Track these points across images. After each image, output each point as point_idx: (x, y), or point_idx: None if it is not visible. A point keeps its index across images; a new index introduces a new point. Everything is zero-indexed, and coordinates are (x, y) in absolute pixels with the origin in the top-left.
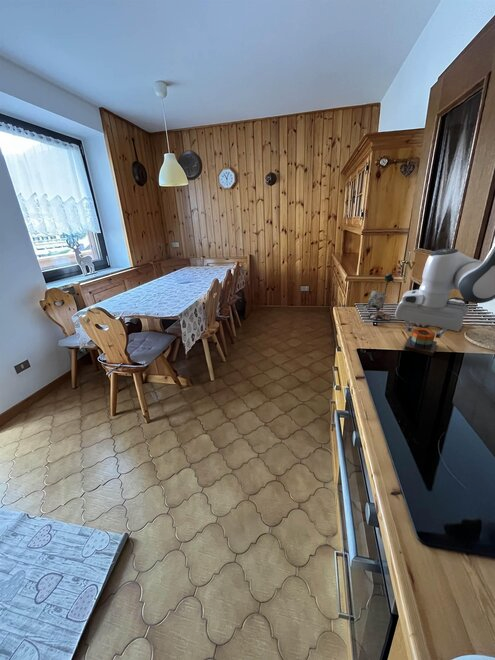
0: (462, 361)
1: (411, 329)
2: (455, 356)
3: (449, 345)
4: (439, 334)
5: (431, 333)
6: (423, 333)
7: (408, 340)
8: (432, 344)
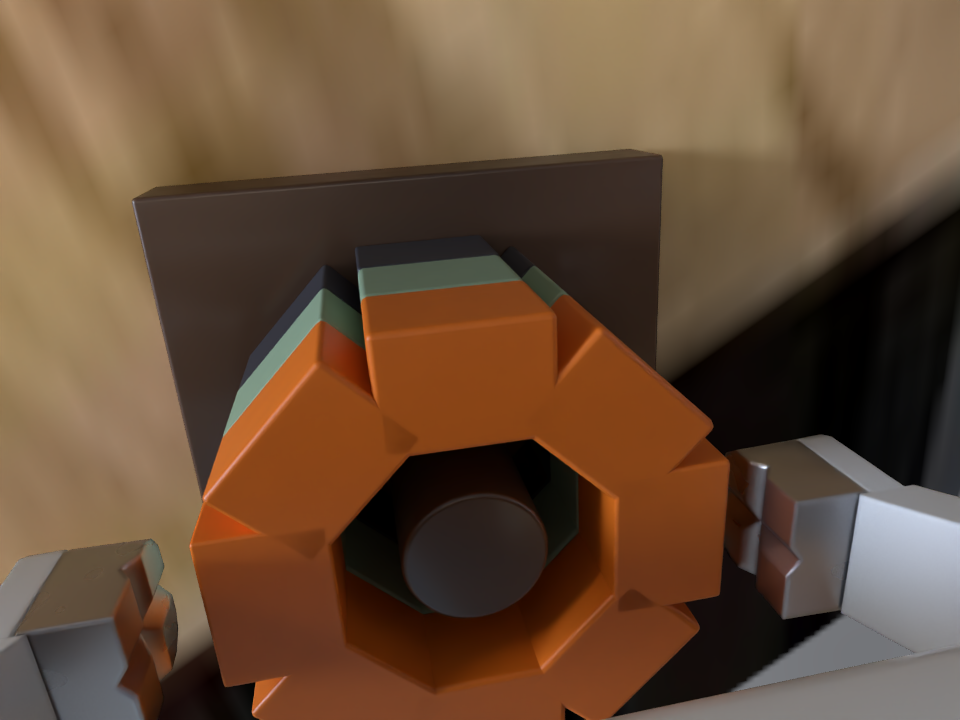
0: (940, 427)
1: (144, 590)
2: (879, 351)
3: (826, 15)
4: (837, 605)
5: (649, 534)
6: (476, 586)
7: (202, 431)
8: (606, 326)
